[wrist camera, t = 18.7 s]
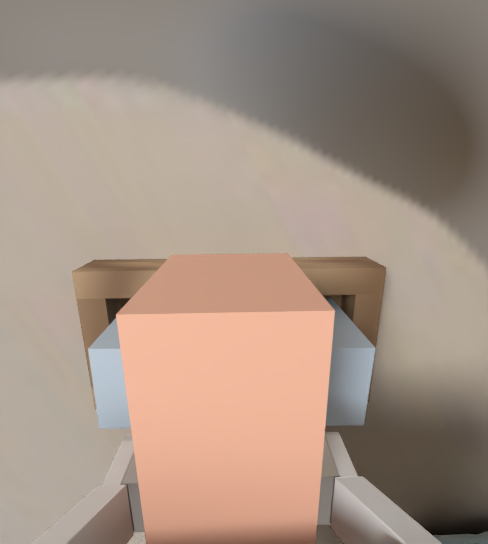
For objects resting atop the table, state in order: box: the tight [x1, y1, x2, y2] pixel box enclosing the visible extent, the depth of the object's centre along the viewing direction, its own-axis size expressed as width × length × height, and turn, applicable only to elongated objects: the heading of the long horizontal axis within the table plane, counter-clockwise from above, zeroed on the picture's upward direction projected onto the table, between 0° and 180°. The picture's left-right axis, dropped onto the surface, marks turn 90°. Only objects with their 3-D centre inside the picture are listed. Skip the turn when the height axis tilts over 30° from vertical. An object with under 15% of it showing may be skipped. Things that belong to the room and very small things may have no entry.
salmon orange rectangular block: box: [116, 253, 335, 544], centre depth 9 cm, size 12×4×5 cm, turn 0°
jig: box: [72, 257, 386, 409], centre depth 18 cm, size 16×8×3 cm, turn 90°
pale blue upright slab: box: [88, 298, 376, 429], centre depth 16 cm, size 12×4×6 cm, turn 89°
